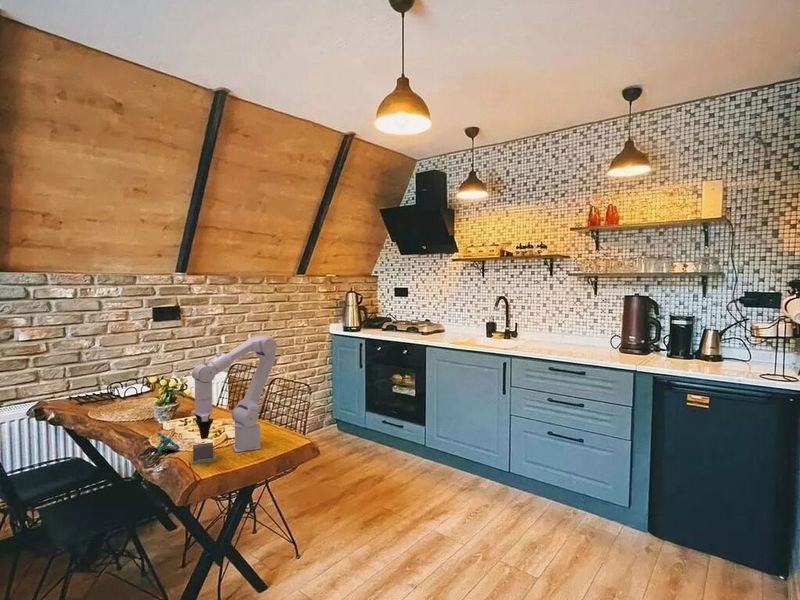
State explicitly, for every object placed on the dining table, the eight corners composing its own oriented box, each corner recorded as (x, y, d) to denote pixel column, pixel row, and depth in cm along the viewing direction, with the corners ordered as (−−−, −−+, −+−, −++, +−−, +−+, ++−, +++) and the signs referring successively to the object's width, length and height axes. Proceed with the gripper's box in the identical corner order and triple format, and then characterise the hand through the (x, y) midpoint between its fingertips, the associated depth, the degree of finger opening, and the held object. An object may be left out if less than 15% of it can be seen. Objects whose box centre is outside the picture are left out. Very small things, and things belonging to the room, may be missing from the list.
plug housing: (212, 454, 170) (212, 442, 170) (213, 457, 166) (213, 445, 166) (192, 457, 167) (192, 445, 167) (193, 460, 164) (193, 448, 163)
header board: (214, 454, 171) (214, 447, 171) (216, 461, 166) (216, 453, 166) (191, 458, 168) (191, 450, 167) (191, 464, 162) (191, 456, 162)
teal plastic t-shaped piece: (184, 447, 173) (163, 432, 169) (173, 461, 170) (151, 447, 166) (175, 442, 181) (155, 428, 177) (165, 456, 179) (143, 442, 174)
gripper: (190, 394, 170) (190, 429, 171) (192, 404, 157) (192, 443, 158) (211, 392, 173) (211, 427, 174) (214, 402, 160) (214, 440, 161)
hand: (203, 435), depth 166 cm, fingers open, 7 cm apart
